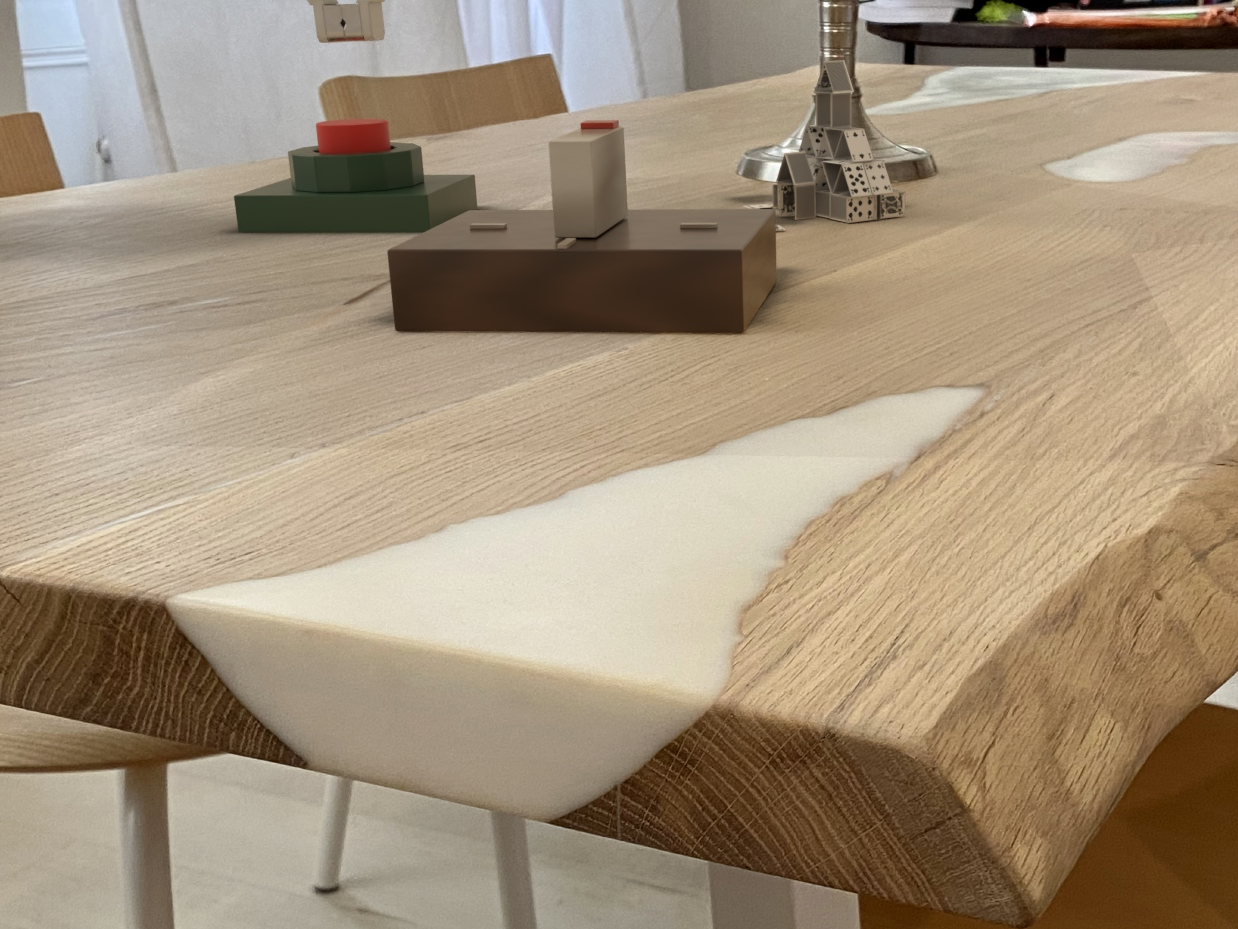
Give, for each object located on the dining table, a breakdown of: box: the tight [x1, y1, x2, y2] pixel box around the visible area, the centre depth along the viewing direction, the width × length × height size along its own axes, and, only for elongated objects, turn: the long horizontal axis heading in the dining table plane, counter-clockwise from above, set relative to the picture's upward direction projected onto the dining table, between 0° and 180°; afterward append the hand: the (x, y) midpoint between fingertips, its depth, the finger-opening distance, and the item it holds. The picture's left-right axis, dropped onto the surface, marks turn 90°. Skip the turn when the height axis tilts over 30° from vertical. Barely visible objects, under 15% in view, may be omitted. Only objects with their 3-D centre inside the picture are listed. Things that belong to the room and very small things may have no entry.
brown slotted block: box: [386, 208, 778, 334], centre depth 63 cm, size 13×10×3 cm
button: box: [315, 118, 391, 153], centre depth 83 cm, size 4×4×2 cm
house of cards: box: [743, 59, 906, 232], centre depth 84 cm, size 9×9×8 cm
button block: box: [233, 141, 478, 234], centre depth 83 cm, size 10×8×4 cm
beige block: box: [548, 119, 629, 238], centre depth 62 cm, size 6×2×4 cm, turn 172°
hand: (352, 41), depth 81 cm, fingers closed
